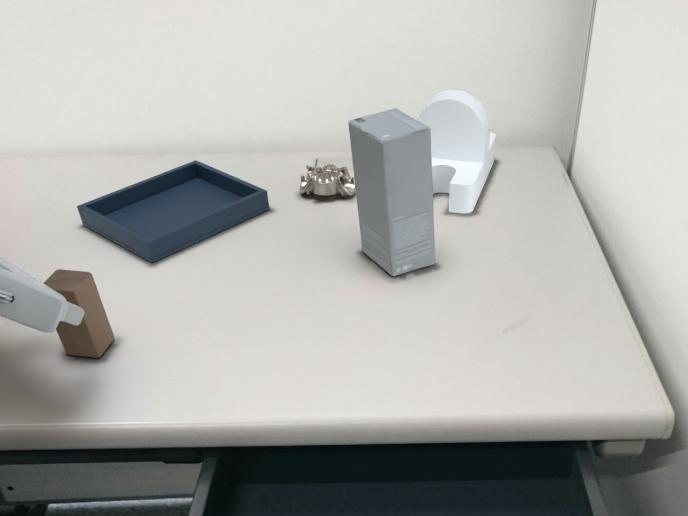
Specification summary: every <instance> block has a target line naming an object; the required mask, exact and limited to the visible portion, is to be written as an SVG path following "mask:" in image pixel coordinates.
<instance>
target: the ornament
mask: <svg viewBox="0 0 688 516" xmlns="http://www.w3.org/2000/svg"><path fill="white" fill-rule="evenodd" d="M305 168H306V170H307V172H306V176H305V175H304V174H301V176H300V185H299V190H298V191H299V194H304V193H305V194H307V195H311V194H312V193H313V194H314V195H318V196H333V195H336V194H339V195H340V196H341V197H347V196H349V197H351V196H353V195H354V194H356V187H355V178H354V176H352V177H351V175H350V173H349V170H348V167H347V166H342V167H337V166H336V165H335V164H332V163H331V164H330V163H328V164H324V165H323V167H322V166H316V167H315V166H311V165H308V164H307V165H306V166H305Z"/></svg>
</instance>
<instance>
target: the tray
mask: <svg viewBox="0 0 688 516" xmlns="http://www.w3.org/2000/svg"><path fill="white" fill-rule="evenodd" d="M268 195H269V194H268V190H266V189H264V188H262V187H259V186H258V185H254V184H252V183H250V182H248V181H246V180H243V179H242V178H238V177H237V176H235V175H231V174H229V173H227V172H224V171H222V170H220V169H218V168H215V167H212V166H210V165H208V164H206V163H204V162H201V161H198V160H196V159H195V160H193V161H190V162H188V163H185V164H182V165H180V166H177V167H175V168H172V169H169V170H167V171H164V172H162V173H159V174H156V175H154V176H151V177H148V178H146V179H143V180H141V181H138V182H136V183H132V184H131V185H128V186H125V187H123V188H119V189H118V190H115V191H112V192H109V193H107V194H105V195H102V196H99V197H97V198H93V199H92V200H89V201H87V202H83V203H82V204H79V205H76V208H77V211H78V215H79V217H80V220H81V224H82V226H84V227H86V228H87V229H89V230H91V231H93V232H94V233H96V234H98V235H100V236H102V237H104V238H106V239H107V240H109V241H110V242H113V243H114V244H116V245H119V246H120V247H122V248H124V249H125V250H127V251H129V252H131V253H133V254H135V255H136V256H138V257H140V258H142V259H144V260H146V261H147V262H149V263H151V264H154V263H155V262H158V261H160V260H163V259H164V258H167V257H169V256H171V255H173V254H176V253H177V252H180V251H182V250H184V249H186V248H188V247H190V246H193V245H195V244H197V243H200V242H202V241H204V240H206V239H208V238H211V237H213V236H215V235H217V234H219V233H221V232H224V231H226V230H228V229H230V228H232V227H235V226H237V225H239V224H241V223H244V222H245V221H248V220H250V219H252V218H255V217H256V216H259V215H261V214H264V213H265V212H268V211H270V209H271V208H270V202H269V196H268Z"/></svg>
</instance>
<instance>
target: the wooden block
mask: <svg viewBox="0 0 688 516" xmlns="http://www.w3.org/2000/svg"><path fill="white" fill-rule="evenodd" d="M43 283H44V284H45V285H47V286H48V287H50V288H52V289H53V290H55V291H56V292H58V293H59V294H61V295H62V296H64V297H65V299H66V300H67V301H69V302H71V303H74V304H76V305H77V306H79V307H81V308H82V309H83V310H84V316H83V318H82V321H81V323H80V324H79V325H77V326H75V325H72V324H69V323H67V322H64V321H59V324H58V326H57V328H56V330H55V331H56V333H57V336H58V337H59V340H60V342H61V345H62V347H63V349H64V352H65V354H67V355H69V356H77V357H85V358H86V357H87V358H95V359H98V358H100V357H102V356H103V354H104V353H105V351H106V350H107V349H108V348H109V346H110V345H111V344H112V343H113V342H114V341H115V335H114V331H113V329H112V326H111V324H110V321H109V318H108V316H107V312H106V309H105V306H104V304H103V301H102V298H101V296H100V292H99V289H98V287H97V285H96V281H95V279H94V276H93V274H92V273H91V272H90V271H83V270H74V269H62V268H60V269H59V268H58V269H56V270H55V271H54V272H53V273H51V275H50V276H49V277H48V278H47V279H46V280H45V281H43Z"/></svg>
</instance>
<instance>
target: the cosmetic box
mask: <svg viewBox="0 0 688 516" xmlns="http://www.w3.org/2000/svg"><path fill="white" fill-rule="evenodd" d="M348 132H349V142H350V151H351V160H352V168H353V177H354V178H355V187H356V188H355V195H356V196H355V197H356V204H357V213H358V223H359V230H360V231H359V233H360V241H361V252H362V253H364V254H365V255H366V256H368V257H369V259H371V260H372V261H373V262H375V263H376V264H377V265H378V266H379V267H381V269H383V270H384V271H385V272H386V273H388V274H389V275H390V276H392V277H396V276H399V275H400V276H401V275H403V274H405V273H409V272H411V271H415V270H418V269H422V268H425V267H429V266H433V265H435V264H436V242H435V239H436V238H435V213H434V212H435V211H434V194H433V184H432V157H431V128H430V127H428V126H426V125H424V124H423V123H421V122H419V121H417V119H415V118H413V117H412V116H410V115H408V114H407V113H405V112H402V110H400V109H398V108H397V107H395V108H391V109H386V110H383V111H379V112H376V113H373V114H368V115H365V116H361V117H357V118H353V119H349V120H348Z"/></svg>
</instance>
